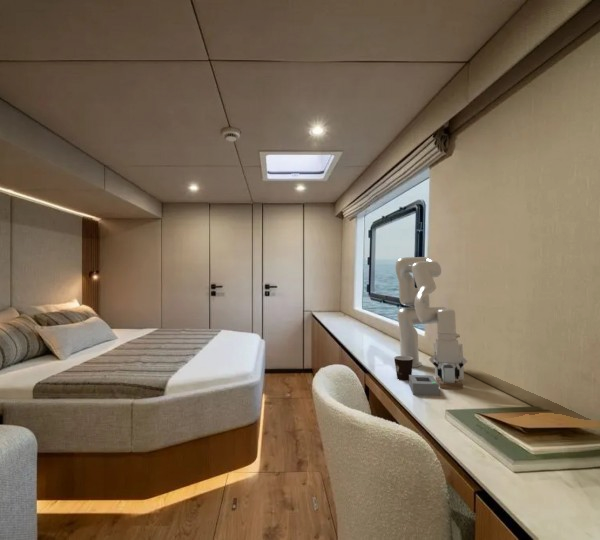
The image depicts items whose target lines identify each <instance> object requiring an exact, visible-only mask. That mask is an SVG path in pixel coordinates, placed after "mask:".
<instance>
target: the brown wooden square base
mask: <svg viewBox="0 0 600 540" xmlns="http://www.w3.org/2000/svg"><path fill="white" fill-rule="evenodd" d="M435 380H436V381H437V383H438V384H439V389H446V390H449V389H450V390H463V389H464V385H463V383H462V381H461V380H458V379H457V378H455V383H444V382H443V378H440V377H436V376H435Z"/></svg>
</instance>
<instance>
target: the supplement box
mask: <svg viewBox="0 0 600 540" xmlns="http://www.w3.org/2000/svg"><path fill="white" fill-rule="evenodd" d="M435 342H436V341H434V342H433V355H434V354H435ZM458 343H459V347H460V354H461V356H463V357H464V351H463V343H460V342H458ZM434 362H436V363H438V362H437V360H435V359H434ZM461 362H462V359H461ZM458 364H459V363H458ZM443 365H452V366H453V368H454V375H455V367H456V366H455V364H454V363H442V365H441V369H442V366H443ZM459 371H460V376H459V379H458V380H459V381H461V380H462V381H463V380H464V379H465V371H464V365H463V366H462V367H461V368H460V370H459ZM434 376H435V378H436V377H439V376H438V374H437V367H436V366H435V365H434ZM442 378H443V371H442ZM455 378H456V377H455Z"/></svg>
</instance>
